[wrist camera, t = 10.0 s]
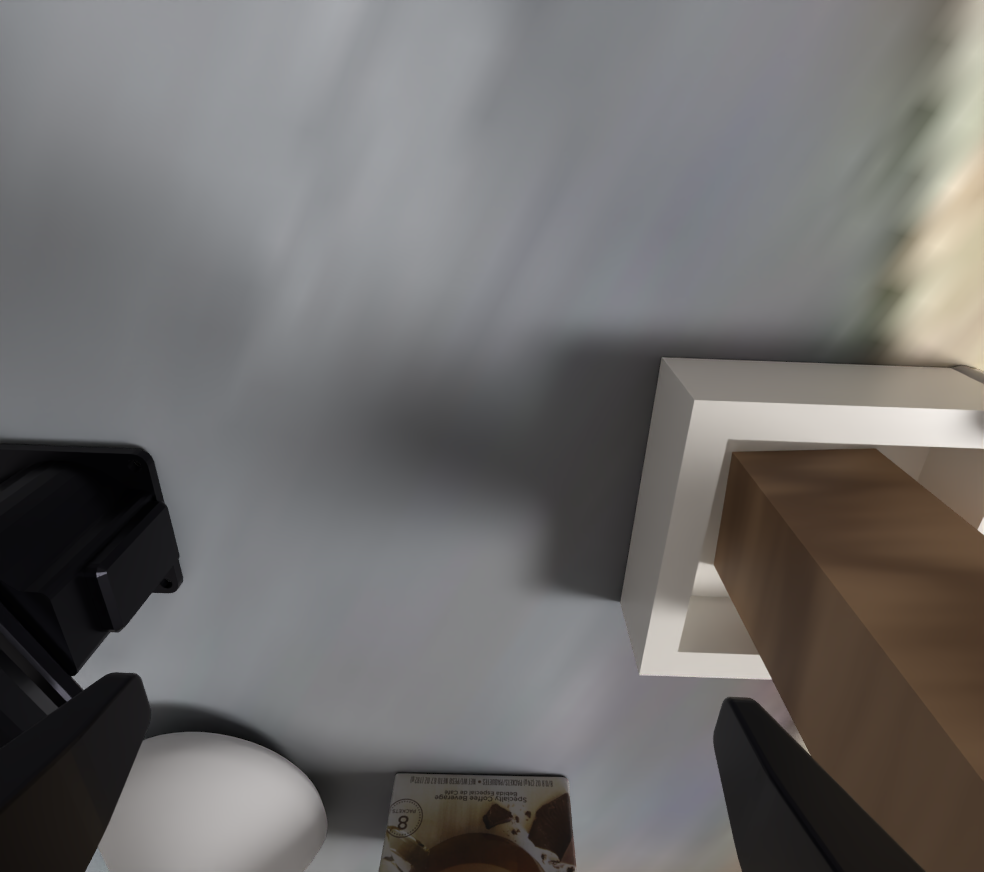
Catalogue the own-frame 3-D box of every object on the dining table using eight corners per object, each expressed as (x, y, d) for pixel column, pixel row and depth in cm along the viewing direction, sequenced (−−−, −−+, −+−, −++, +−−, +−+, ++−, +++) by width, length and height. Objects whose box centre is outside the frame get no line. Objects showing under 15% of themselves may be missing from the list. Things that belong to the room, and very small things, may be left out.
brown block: (713, 565, 23) (969, 1066, 10) (732, 451, 21) (1084, 915, 8) (843, 562, 23) (1260, 1066, 10) (875, 448, 21) (1455, 913, 8)
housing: (619, 604, 25) (651, 725, 20) (662, 354, 20) (718, 426, 15) (877, 613, 25) (977, 736, 20) (983, 366, 20) (1150, 442, 15)
